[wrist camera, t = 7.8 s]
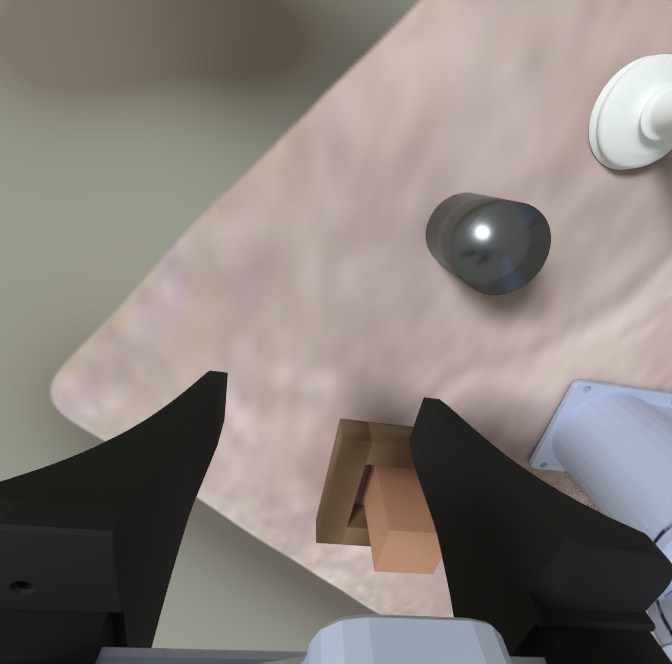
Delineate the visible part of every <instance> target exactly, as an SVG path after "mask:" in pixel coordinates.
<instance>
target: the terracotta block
mask: <svg viewBox="0 0 672 664" xmlns="http://www.w3.org/2000/svg"><path fill="white" fill-rule="evenodd" d="M363 499H364V505H365V512H366V518H367V525H368V531H369V538H370V544H371V551H372V558H373V564H374V571H379V572H398V573H417V574H434V572H435V570H436V568H437V566H438V563H439V561H440V559H441V557H442V554H441V550H440V545H439V541H438V537H437V533H436V530H435V526H434V523H433V520H432V517H431V514H430V511H429V508H428V505H427V502H426V499H425V496H424V493H423V491H422V488H421V485H420V482H419V479H418V476H417V473H416V470H415V469H407V468H396V467H386V466H376V465H371V468H370V471H369V474H368V478H367V481H366V484H365V488H364V491H363Z"/></svg>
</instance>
